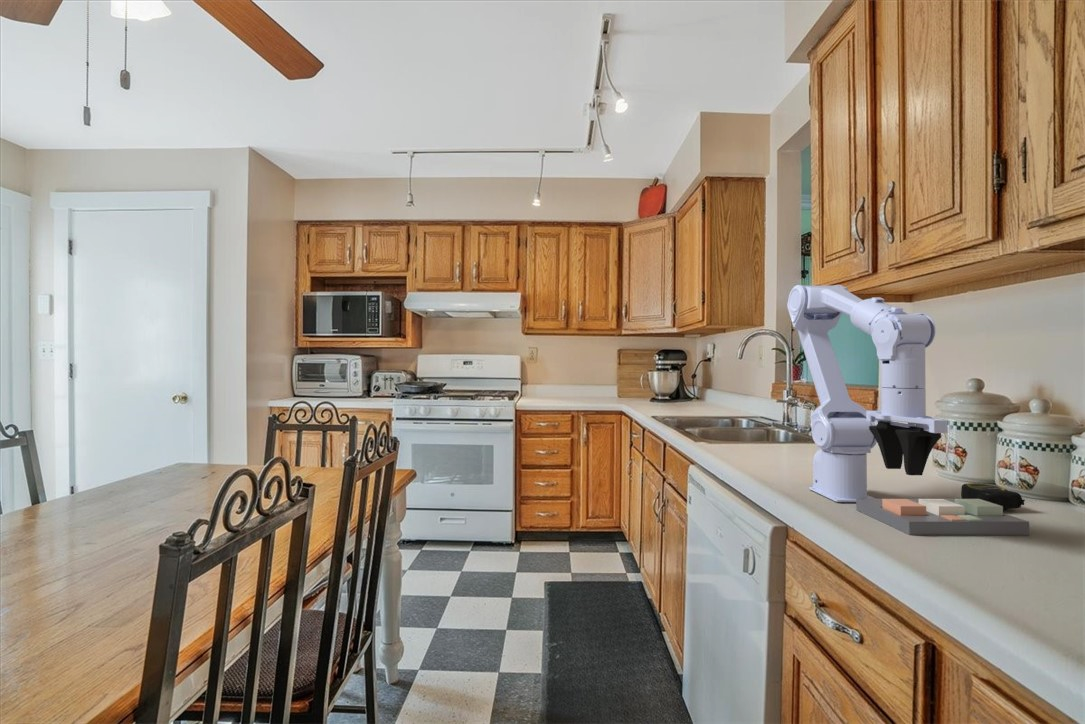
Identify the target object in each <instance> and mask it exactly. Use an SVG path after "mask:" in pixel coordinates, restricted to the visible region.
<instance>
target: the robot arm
mask: <svg viewBox="0 0 1085 724" xmlns="http://www.w3.org/2000/svg"><path fill="white" fill-rule="evenodd" d="M786 306H787V310H788V314H789V316H790V321H791V323H792V326H793V328H794V329H796V330H797V332H798V333H797V334H798V337H799V340H800V343H801V347H802V350H803V352H804V357H805V359H806V362H807V366H808V369H809V372H810V375H811V378H812V382H813V385H814V388H815V391H816V395H817V398H818V401H819V404H820V405H819V406H817V408H815V410H813V411H812V412H811V415H810V416H809V419H810V421H811V422H810V423H811V424H810V425H811V436H812V437H811V438H812V440H813V441H814V443H815V445H816V446H817V447H818V450H817V451H816V452H815V454H814V456H813V458H812V480H813V481H812V486H808V490H811V491H813V492H815V493H816V494H819V495H821V496H823V497H825V498H827V499H829V500H831V501H834V502H836V503H856V499H877V498H875V497H874V496H871V495H868V475H867V474H868V467H867V466H868V465H867V464H868V460H867V458H868V457H867V455H868V454H871V453H872V452H871V450H872V449H873V448H874V447H875V446H876V445H877V446H878V447H879V450H880V454H881V457H882V460H883V464H884V467H885V469H888V470H900V469H901V468H902V465H903V466H904V471H905V474H906V475H908V476H923V474H924V470H925V469H926V468H925V467H926V464H927V461H928V458H929V456H930V454H931V452H932V450H933V449H934V447H935V445H936V444H937V442H938V441H939V440H940V439H941V438H942V434H948V420H946V419H941V418H937V417H932V416H928V415H926V414H927V413H926V411H927V409H926V407H927V406H926V405H927V403H926V395H927V391H926V390H927V389H926V388H927V387H926V349H927V348H928V347H929V346H931V344H932V343H933V342H934V339H935V337H936V324H935V322H934V321H933V319H932V318H931V317H930V316H928V315H927V314H926V313H924V312H917V313H916V312H915V313H911V314H910V313H909V314H908V313H907V312H905V311H904V309H903V308H902V307H900V306H892V305H889V304H888V303H885V299H884V298H882V297H879V296H877V297H871V298H866V299H862V298H860V297H858V296H857V295H855V294H853V293H852V292H851V291H849V287H847V286H843V285H842V284H835V285H802V284H797V285H795V286H794V287H792V289H791V290H790V292H789V295H788V300H787V305H786ZM842 315H846V316H848V317H849V318H850V319H849V320H850V322H851V325H852V326H854V327H855V328H857V329H858V330H860V331H862V332H864V333H866V334H867V335H869V336H871V340H872V342H873V345H874V346H875V349H876V357H877V360H880V397H881V398H880V399H881V400H880V404H881V405H880V408H881V409H880V410H867V408H865V407H864V406H863V405H861V404H859V403H857V402H855V401H854V400H852V399H851V398H850V397H851V396H850V394H849V391H848V388H847V386H846V382H845V380H844V377H843V374H842V372H841V367H840V365H839V363H838V360H837V357H836V354H835V351H834V348H833V345H832V342H831V339H830V337H829V334H828V332H829V331H831V330H833V329H834V328H836V327H837V325H838V323H839V321H840V319H841V317H842ZM876 423H877V424H876Z"/></svg>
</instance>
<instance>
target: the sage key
mask: <svg viewBox="0 0 1085 724" xmlns="http://www.w3.org/2000/svg"><path fill="white" fill-rule="evenodd" d="M954 499H955V503H956V504H959V505H962V506H964V509H965V512H968V513H971V514H973V515H976V516H1003V513H1004V509H1003V506H1000V505H997V504H994V503H991V502H987V501H984V500H981V499H962V498H954Z"/></svg>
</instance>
